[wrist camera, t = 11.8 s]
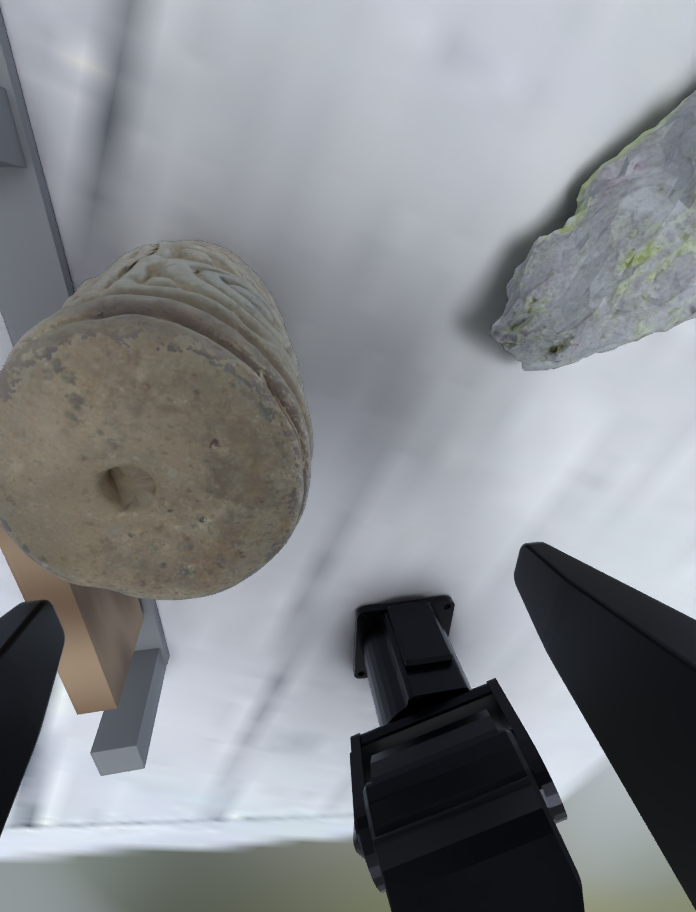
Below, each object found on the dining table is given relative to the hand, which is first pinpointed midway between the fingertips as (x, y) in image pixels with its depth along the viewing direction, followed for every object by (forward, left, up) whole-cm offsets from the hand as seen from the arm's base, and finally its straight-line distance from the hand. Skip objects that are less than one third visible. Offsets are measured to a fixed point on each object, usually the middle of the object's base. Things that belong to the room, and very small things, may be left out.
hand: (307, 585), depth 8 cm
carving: (+2, +3, -13) cm, 13 cm away
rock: (+7, -16, -13) cm, 22 cm away
